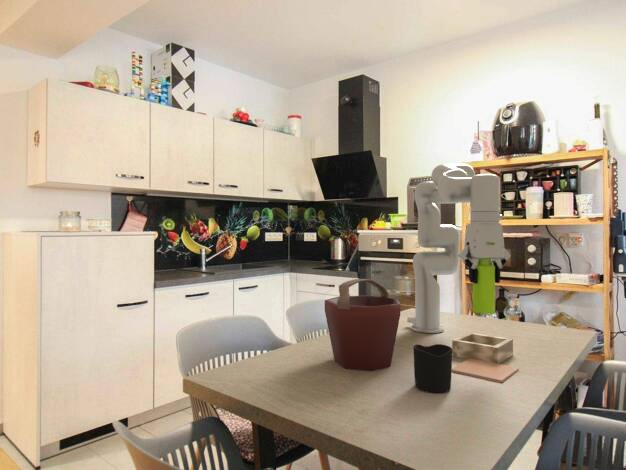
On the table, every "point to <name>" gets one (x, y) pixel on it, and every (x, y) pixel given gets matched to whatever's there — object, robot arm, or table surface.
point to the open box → (482, 347)
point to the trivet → (485, 370)
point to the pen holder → (433, 368)
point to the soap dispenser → (484, 287)
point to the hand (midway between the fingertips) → (484, 281)
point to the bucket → (362, 327)
